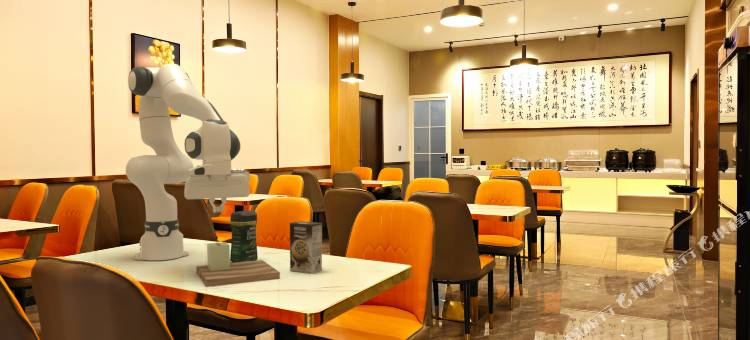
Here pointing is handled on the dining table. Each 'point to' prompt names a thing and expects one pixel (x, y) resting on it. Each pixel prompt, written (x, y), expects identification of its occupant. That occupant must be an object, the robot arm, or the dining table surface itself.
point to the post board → (238, 273)
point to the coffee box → (305, 247)
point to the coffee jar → (243, 236)
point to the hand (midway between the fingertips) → (218, 212)
